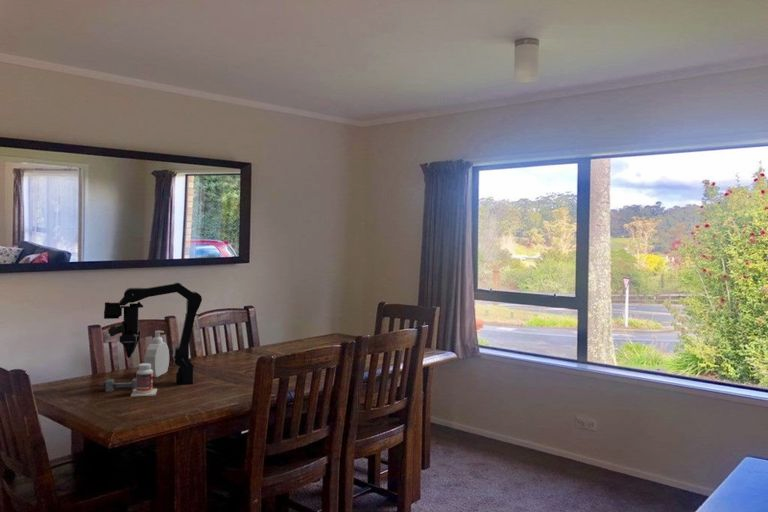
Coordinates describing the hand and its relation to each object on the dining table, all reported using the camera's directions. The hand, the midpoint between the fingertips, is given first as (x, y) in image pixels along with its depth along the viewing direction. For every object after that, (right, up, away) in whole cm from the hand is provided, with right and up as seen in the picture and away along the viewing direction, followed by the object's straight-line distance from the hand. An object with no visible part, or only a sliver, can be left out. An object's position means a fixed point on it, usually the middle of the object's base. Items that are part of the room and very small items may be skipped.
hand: (130, 355), depth 250 cm
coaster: (+10, -14, -10) cm, 19 cm away
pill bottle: (+10, -13, -10) cm, 19 cm away
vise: (-3, -13, -4) cm, 14 cm away
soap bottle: (+2, -13, +23) cm, 26 cm away
